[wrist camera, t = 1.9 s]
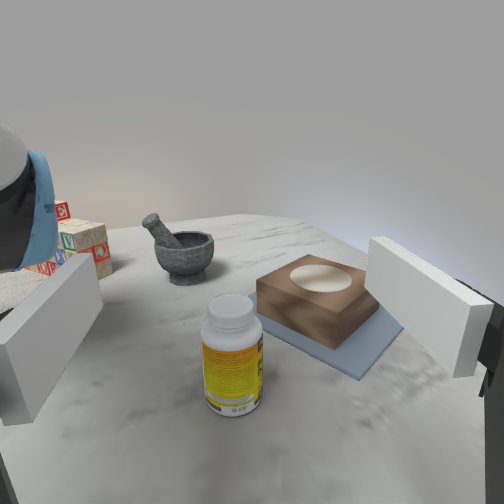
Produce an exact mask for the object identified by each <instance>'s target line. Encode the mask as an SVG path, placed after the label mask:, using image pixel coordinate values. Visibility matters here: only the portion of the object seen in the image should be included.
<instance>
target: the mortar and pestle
mask: <svg viewBox="0 0 504 504" xmlns="http://www.w3.org/2000/svg"><path fill="white" fill-rule="evenodd" d="M142 225H143V227H144V228H147V229H148V230H149V232H150V233H151V235H152V236H153V237H154V239H155V245H154V247H155V254H156V257H157V260H158V263H159V264H160V265H161V267H162V268H163V269H164V270H166V271H167V272H169V273H170V282H171V283H173V284H175V285H181V286H189V285H193V284H197V283H200V282H201V281H202V280H204V279H205V272H204V269H205V268H206V267H207V266H208V265H209V264H210V262H211V260H212V258H213V253H214V240H213V238H212V236H211V235H210V234H207V233H203V232H199V231H181V232H176V233H171V232H170V231H169V230H168V229H167V228H166V227H165V225H164V224H163V223H162V222H161V221H160V220H159V216H158V215H157V214H150V215H148V216H147V217H146V218H145V219H144V220H143V221H142Z"/></svg>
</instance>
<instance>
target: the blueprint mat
mask: <svg viewBox="0 0 504 504" xmlns="http://www.w3.org/2000/svg"><path fill="white" fill-rule="evenodd" d="M247 297H249V298H250V299H251V300H252V302H253V309H254V315H255V316H256V317H257V318H258V319H259V320H260V322H261V324H262V329H263V330H265V331H267V332H268V333H270V334H272V335H274V336H276V337H278V338H280V339H282V340H284V341H285V342H287V343H289V344H291V345H293V346H295V347H297V348H299V349H300V350H302V351H304V352H306V353H308V354H310V355H312V356H314V357H316V358H317V359H319V360H321V361H323V362H325V363H327V364H329V365H331V366H332V367H334V368H336V369H338V370H340V371H342V372H344V373H346V374H348V375H349V376H351V377H353V378H355V379H357V380H360V379H361V378H362V376H363V375H364V374H365V373H366V372H367V371H368V369H369V368H370V367H371V366H372V365H373V363H374V362H375V361H376V360H377V359H378V358H379V356H380V355H381V354H382V353H383V352H384V350H385V349H386V348H387V347H388V346H389V345H390V343H391V342H392V341H393V340H394V339H395V337H396V336H397V335H398V334H399V333H400V331H401V330H402V329H403V327H402V326H401V325H400V324H399V323H398V322H397V321H396V319H395V318H394V317H393V316H392V315H391V314H390V313H389V312H388V311H387V310H386V309H385V308H384V307H383V306H382V305H381V304H380V303H379V309H378V310H377V311H376V312H375V313H374V314H373V315H372V316H371V317H370V318H369V319H368V320H366V321H365V322H364V323H363V324H362V325H361V326H360V327H359V328H358V329H357V330H356V331H355V332H354V333H353V334H352V335H351V336H349V337H348V338H347V339H346V340H345V341H344V342H343V343H342V344H341V345H340V346H339V347H338V348H337V349H336V350H335V351H334V350H332V349H330V348H328V347H326V346H324V345H322V344H320V343H318V342H316V341H314V340H312V339H310V338H308V337H306V336H304V335H302V334H300V333H298V332H296V331H293V330H291V329H289V328H287V327H285V326H283V325H281V324H279V323H277V322H275V321H273V320H271V319H269V318H267V317H265V316H263V315H261V314H259V313H257V292H255V293H253V294H251V295H249V296H247Z"/></svg>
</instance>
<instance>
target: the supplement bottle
mask: <svg viewBox="0 0 504 504" xmlns="http://www.w3.org/2000/svg"><path fill="white" fill-rule="evenodd" d="M207 310H208V316H207V318H206V319H205V320H204V321H203V323H202V325H201V327H200V344H201V355H202V368H203V379H204V390H205V398H206V401H207V403H208V405H209V406H210V408H211V409H212V410H214V411H215V412H216V413H218V414H221V415H224V416H230V417H234V416H240V415H244V414H246V413H248V412H250V411H252V410H253V409H254V408H255V407H256V406H257V405H258V403H259V402H260V400H261V397H262V388H263V386H262V385H263V382H262V381H263V329H262V324H261V322H260V320H259V319H258V318H257V317H256V316H255V315H254V309H253V302H252V300H251V299H250V298H249V297H247V296H245V295H241V294H235V293H230V294H223V295H219V296H217V297H215V298H213V299H212V300H211V301H210V302H209V303H208V306H207Z"/></svg>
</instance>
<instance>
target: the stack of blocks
mask: <svg viewBox="0 0 504 504" xmlns="http://www.w3.org/2000/svg"><path fill="white" fill-rule="evenodd" d="M55 209H56V212H57V220H58V248H57V251H56V254H55V255H54V256H53V257H52V258H51V259H50V260H49V261H47V262H45V263H41V264H37V265H33V266H29V267H25V269H28V270H31V271H34V272H38V273H42V274H46V275H49V276H50V275H52V274H53V273H54V272H55V271H56V270H57V269H58V268H59V267H60V266H61V265H62V264H64V263H65V262H66V261H67V260H68V259H69V258H70V257H71V256H72V255H73V254H76V253H92V254H93V258H94V263H95V268H96V273H97V277H98V279H101V278H103V277H105V276H107V275H109V274H111V273H113V269H112V264H111V259H110V252H109V247H108V242H107V241H108V238H107V233H106V228H105V224H102V223H96V222H91V221H85V220H80V219H74V218H71V219H70V214H69V209H68V205H67V202H65V201H57V200H55Z"/></svg>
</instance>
